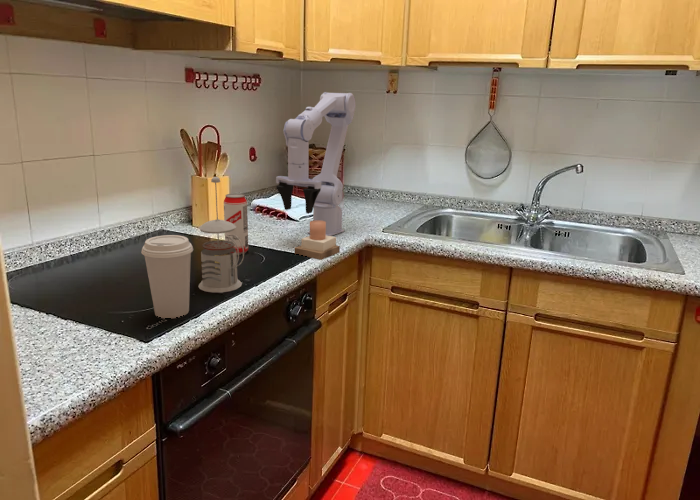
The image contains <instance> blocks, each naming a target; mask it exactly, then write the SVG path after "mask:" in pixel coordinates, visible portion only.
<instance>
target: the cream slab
mask: <svg viewBox="0 0 700 500" xmlns="http://www.w3.org/2000/svg"><path fill="white" fill-rule="evenodd" d="M300 241H301V245H300V246H301V248H306V249H311V250H317V251H322V252H324V251H326V250H328V249H330V248H332V247H334V246H336V245H337V237H336V236H333V235H332V236H326V238H325V239H323V240H312V239H310V235H308V236H306V237H303V238H301V239H300Z"/></svg>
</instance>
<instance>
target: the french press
mask: <svg viewBox="0 0 700 500" xmlns="http://www.w3.org/2000/svg"><path fill="white" fill-rule="evenodd" d="M210 180H211V183H213V184H215V185H214V186H215V209H216V219H212V220H208V221H206V222H204V223H203V224H201V225H200V226H198V229H199V231H200V232H201V233H204V234H211V235H212V234H217V240H208V241H205V242H204V243H202V245H201V246H202V248H203V249H202V250H201V251H200V260H201V261H200V262H202V263H201V273H202V275H201V277H202V280H201V282H200V283H198V288H199V290H201V291H204V292H208V293H227V292H232V291H235V290H238V289H239V288H240V287H242V285H243V282H241V281H240V279H238V267H239V266H240V265H242V263H243V261H244V258H245V253H244V248H243V245H242V242H241V241H240V239H239V238H238V237H237V236H236V235H234V236H235V237H236V238H238V240H239V241H240V243H241V245H242V248H243V254H242V259H241V261H240V262H239V258H240V255H239V250H238V247H237V245H236V243H235V241H234V236H233V239H232V238H231V237H228V241H225V239H223V240H222V239H220V240H219V238H220V236H219V235H220V234H225V233H227V232H231V231H234V229H235V228H236V226H235V225H234V224H233V223H231V222H228V221H224V219H219V218H218V217H219V214H218V193H217V183H221V178H219V177H218V176H213V177H212V178H211V179H210ZM229 238H230V239H232V241H229ZM233 242H234V243H235V244H234V243H233ZM234 245H236V247H237V251H238V255H237V254H236V249H235V248H232V247H234ZM229 252H234V253H233V255H232V254H229ZM238 262H239V264H238Z"/></svg>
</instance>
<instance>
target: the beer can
mask: <svg viewBox="0 0 700 500" xmlns="http://www.w3.org/2000/svg"><path fill="white" fill-rule="evenodd" d="M245 196H246V195H245V193H235V192H234V193H228V194H225V198H224V199H223V220H224V221H228V222H231V223H233V224H234V225H235V226H236V228H235V229H234V231H231V232H227V233H224V240H225V241H228V237H231V238H232V239H233V236H234V235H236V236H237V237H238V238H239V239H240V241H241V242H242V245H243V248H244V254H246V253H247V252H248V251H249V224H248V221H249V219H248V218H249V217H248V201H247V199H246V197H245ZM238 238H236V237H235V236H234V241H235V243H236V245H237V247H238V250H239V256H241V255H243V248H242V245H241V243H240V241H239V240H238ZM232 239H230V238H229V241H232ZM233 243H234V242H233ZM235 243H234V244H235ZM236 245H234V247H232V248H235V249H236V254H237V256H238V251H237V247H236ZM233 253H234V252H229V253H228V255H233Z"/></svg>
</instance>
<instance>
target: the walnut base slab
mask: <svg viewBox="0 0 700 500" xmlns="http://www.w3.org/2000/svg"><path fill="white" fill-rule="evenodd" d="M340 248H341V247H340V245H337V244H336V246H334V247H332V248H330V249H328V250H326V251H324V252H322V251H317V250H311V249H306V248H301V245H298V246H296V247H294V255H296V254H299V255H298V256H301V255H303V256H302V257H305V256H307V257H306V258H311V259H315V260H319V261H322V260H324V259H327V258H330V257H332V256H334V255H336V254H339V253H340V251H341V249H340Z"/></svg>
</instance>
